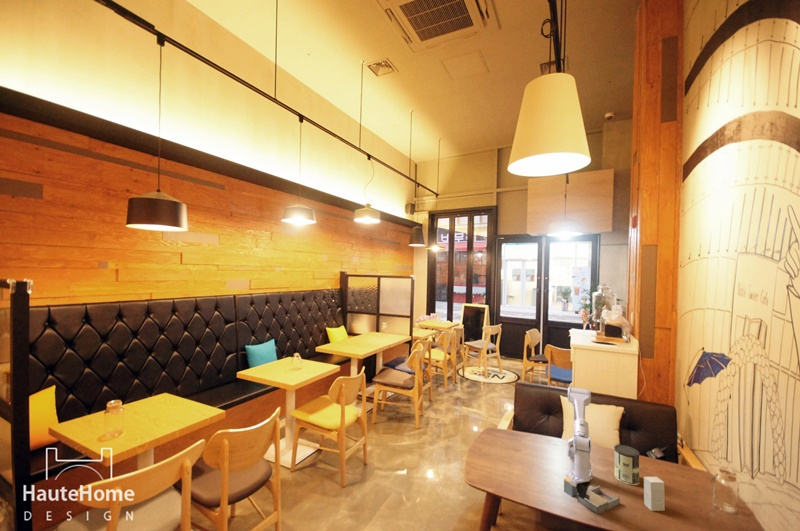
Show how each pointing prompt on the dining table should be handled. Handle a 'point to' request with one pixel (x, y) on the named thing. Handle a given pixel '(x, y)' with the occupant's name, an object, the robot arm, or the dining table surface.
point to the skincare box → (654, 494)
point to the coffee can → (626, 464)
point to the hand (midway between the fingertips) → (581, 497)
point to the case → (604, 507)
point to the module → (569, 487)
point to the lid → (595, 499)
